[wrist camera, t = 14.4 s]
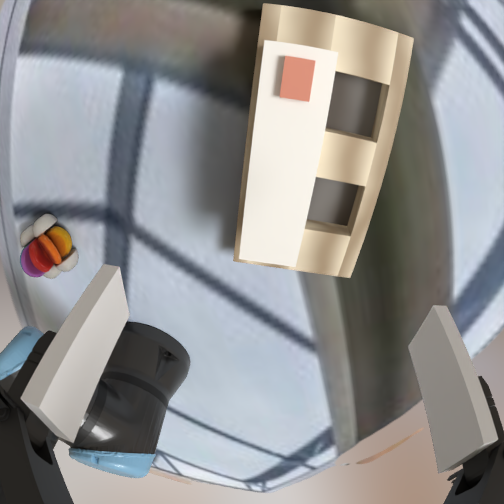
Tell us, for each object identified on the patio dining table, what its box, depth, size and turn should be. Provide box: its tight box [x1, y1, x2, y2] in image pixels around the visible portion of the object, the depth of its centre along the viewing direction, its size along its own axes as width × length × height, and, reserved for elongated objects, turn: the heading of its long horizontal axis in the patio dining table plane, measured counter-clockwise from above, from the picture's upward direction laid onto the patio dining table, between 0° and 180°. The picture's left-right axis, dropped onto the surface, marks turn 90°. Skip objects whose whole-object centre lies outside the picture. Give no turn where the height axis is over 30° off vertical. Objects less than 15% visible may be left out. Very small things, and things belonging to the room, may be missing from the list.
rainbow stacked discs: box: [20, 214, 79, 279], centre depth 35 cm, size 8×10×7 cm
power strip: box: [239, 40, 338, 267], centre depth 25 cm, size 5×18×8 cm, turn 174°
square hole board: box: [233, 3, 414, 278], centre depth 27 cm, size 13×26×2 cm, turn 173°
